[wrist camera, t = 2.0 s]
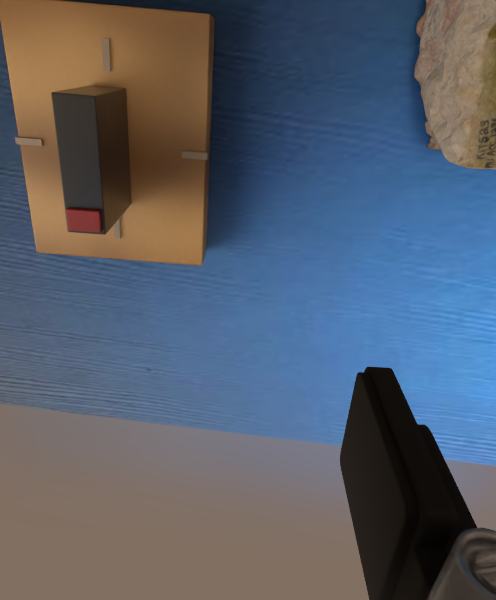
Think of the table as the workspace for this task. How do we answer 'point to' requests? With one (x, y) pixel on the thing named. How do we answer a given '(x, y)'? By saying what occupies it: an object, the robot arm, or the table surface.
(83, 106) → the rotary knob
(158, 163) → the panel
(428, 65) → the geological specimen
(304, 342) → the table surface
